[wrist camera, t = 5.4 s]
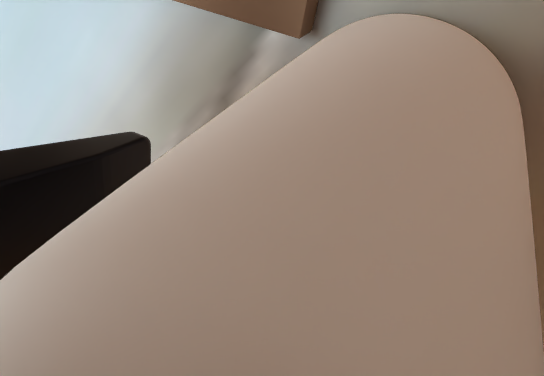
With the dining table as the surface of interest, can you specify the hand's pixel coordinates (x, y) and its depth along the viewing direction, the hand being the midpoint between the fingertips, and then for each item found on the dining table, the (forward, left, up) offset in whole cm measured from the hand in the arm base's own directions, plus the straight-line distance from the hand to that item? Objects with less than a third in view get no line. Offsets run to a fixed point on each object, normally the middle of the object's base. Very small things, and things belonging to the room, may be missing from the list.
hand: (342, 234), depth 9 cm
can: (0, 0, -6) cm, 6 cm away
